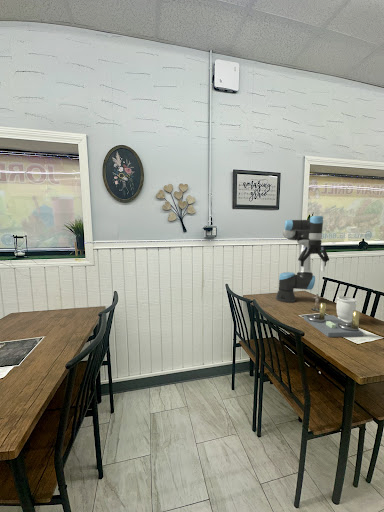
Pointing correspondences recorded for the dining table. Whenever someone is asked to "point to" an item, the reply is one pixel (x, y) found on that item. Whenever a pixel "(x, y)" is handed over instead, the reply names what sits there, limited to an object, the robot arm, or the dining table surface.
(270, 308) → the dining table surface
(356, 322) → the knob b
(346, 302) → the jar
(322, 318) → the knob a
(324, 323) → the plate
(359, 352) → the dining table surface
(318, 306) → the figurine
